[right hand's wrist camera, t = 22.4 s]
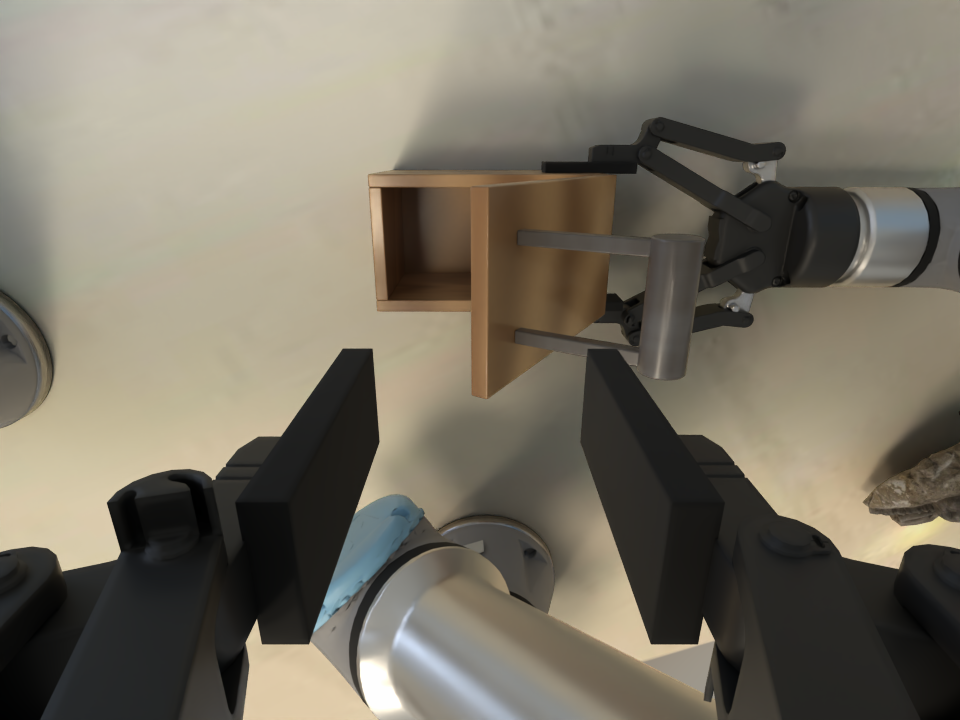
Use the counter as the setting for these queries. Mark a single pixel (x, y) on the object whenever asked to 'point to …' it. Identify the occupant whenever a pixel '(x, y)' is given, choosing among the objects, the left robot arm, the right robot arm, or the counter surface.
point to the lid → (568, 280)
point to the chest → (429, 234)
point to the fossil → (921, 491)
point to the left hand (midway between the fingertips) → (540, 237)
